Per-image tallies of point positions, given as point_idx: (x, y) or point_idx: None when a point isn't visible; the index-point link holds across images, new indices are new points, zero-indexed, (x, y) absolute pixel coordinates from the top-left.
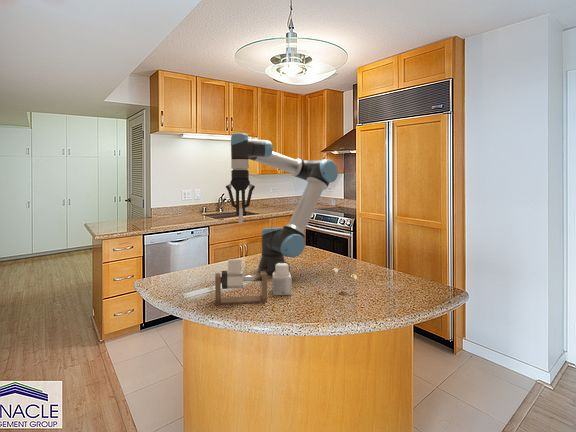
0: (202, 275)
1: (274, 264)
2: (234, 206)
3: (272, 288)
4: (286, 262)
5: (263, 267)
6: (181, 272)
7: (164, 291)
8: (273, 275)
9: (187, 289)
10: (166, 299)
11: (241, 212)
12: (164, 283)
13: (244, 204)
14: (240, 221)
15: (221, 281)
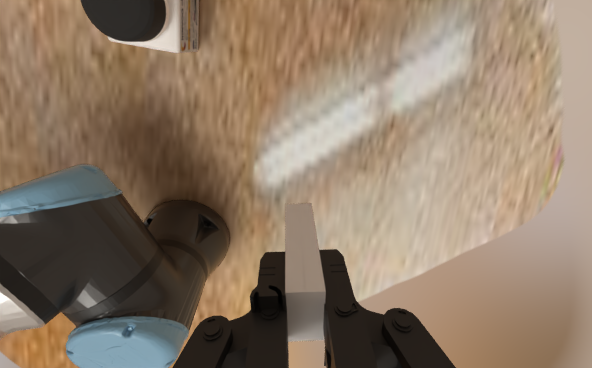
0: (385, 224)
1: (153, 6)
2: (390, 313)
3: (197, 38)
4: (90, 2)
5: (212, 228)
6: (433, 257)
7: (513, 100)
8: (176, 1)
9: (449, 106)
10: (527, 20)
11: (298, 259)
12: (495, 173)
13: (257, 341)
14: (304, 209)
15: None
